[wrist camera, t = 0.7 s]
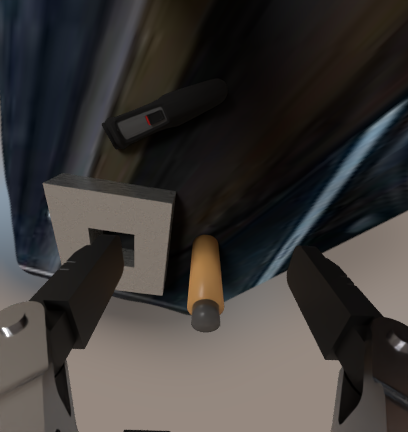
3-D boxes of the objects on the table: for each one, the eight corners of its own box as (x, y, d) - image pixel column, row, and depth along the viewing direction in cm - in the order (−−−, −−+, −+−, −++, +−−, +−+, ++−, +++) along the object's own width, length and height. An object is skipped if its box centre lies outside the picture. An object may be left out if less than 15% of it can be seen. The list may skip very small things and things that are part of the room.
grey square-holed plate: (62, 173, 28) (42, 183, 25) (176, 191, 30) (172, 203, 26) (79, 266, 37) (66, 283, 34) (166, 277, 38) (162, 295, 35)
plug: (194, 233, 33) (188, 309, 21) (220, 236, 34) (229, 313, 21) (191, 253, 35) (183, 333, 23) (215, 256, 36) (220, 337, 24)
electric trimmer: (229, 106, 25) (232, 107, 22) (118, 150, 27) (108, 156, 24) (220, 71, 23) (222, 66, 20) (102, 121, 25) (90, 123, 23)
